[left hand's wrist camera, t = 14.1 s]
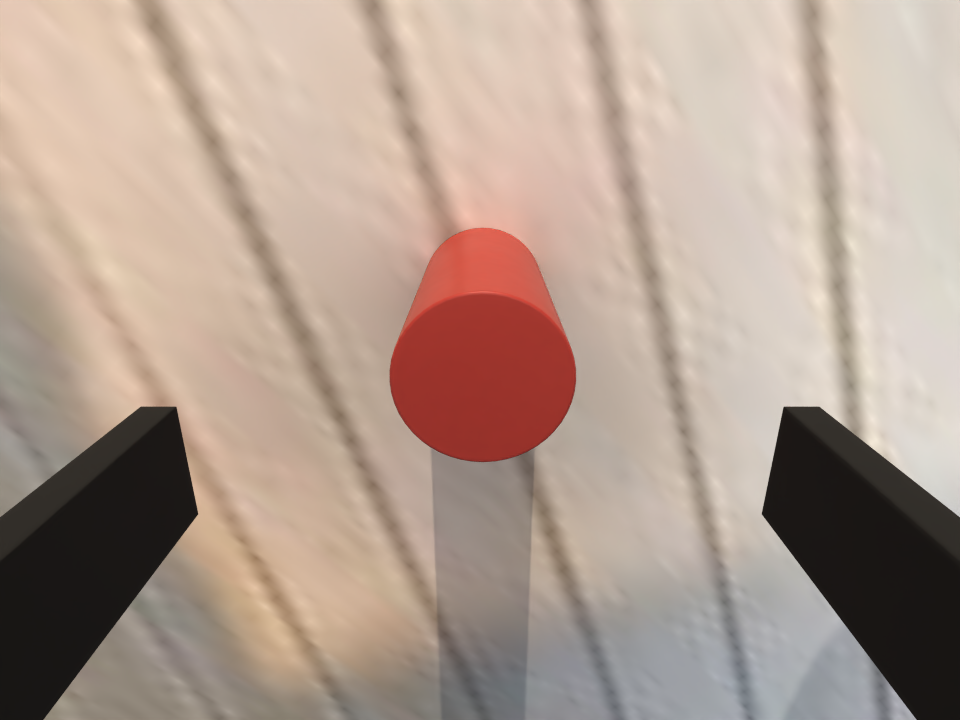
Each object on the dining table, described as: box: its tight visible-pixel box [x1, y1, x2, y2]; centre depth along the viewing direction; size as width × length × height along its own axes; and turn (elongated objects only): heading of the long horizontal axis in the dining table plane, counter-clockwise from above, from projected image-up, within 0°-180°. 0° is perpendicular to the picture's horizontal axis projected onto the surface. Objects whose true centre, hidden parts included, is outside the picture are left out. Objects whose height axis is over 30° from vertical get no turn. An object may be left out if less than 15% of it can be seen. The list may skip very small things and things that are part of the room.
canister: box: [390, 228, 576, 462], centre depth 21 cm, size 5×5×11 cm
